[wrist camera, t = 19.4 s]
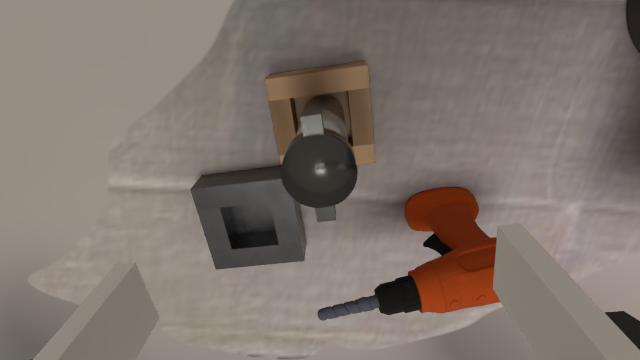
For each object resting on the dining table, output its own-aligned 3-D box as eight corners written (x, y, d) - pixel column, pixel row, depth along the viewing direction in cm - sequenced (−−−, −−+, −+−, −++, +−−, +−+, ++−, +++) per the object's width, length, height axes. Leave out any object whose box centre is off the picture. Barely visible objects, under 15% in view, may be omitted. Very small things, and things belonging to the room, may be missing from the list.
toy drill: (302, 218, 39) (314, 320, 25) (468, 178, 39) (571, 258, 25) (312, 254, 41) (328, 367, 27) (470, 216, 41) (566, 309, 27)
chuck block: (292, 164, 38) (288, 177, 34) (306, 242, 42) (304, 260, 39) (201, 175, 38) (190, 189, 35) (224, 250, 42) (216, 269, 39)
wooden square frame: (364, 60, 33) (367, 65, 30) (371, 150, 37) (375, 162, 34) (270, 74, 34) (264, 79, 31) (286, 160, 38) (282, 173, 34)
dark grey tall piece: (295, 82, 34) (270, 122, 20) (343, 75, 33) (350, 111, 20) (306, 151, 36) (291, 227, 23) (350, 145, 36) (362, 220, 22)
